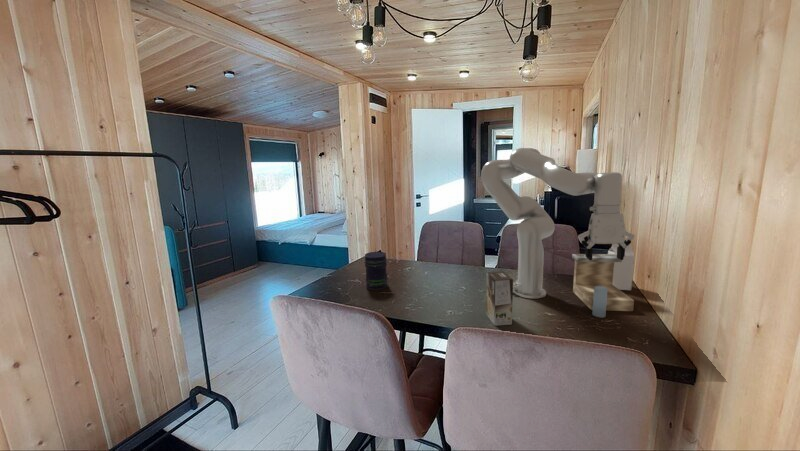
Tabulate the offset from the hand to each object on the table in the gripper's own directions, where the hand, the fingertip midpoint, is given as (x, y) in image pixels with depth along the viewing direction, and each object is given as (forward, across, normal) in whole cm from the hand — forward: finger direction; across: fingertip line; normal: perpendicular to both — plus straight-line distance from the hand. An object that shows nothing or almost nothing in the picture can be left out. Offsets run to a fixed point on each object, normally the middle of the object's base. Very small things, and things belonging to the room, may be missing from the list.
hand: (604, 259), depth 114 cm
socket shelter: (+20, +4, +12) cm, 24 cm away
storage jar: (+18, -87, +22) cm, 91 cm away
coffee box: (+20, -36, -8) cm, 42 cm away
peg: (+20, -1, -1) cm, 20 cm away
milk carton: (+20, +17, +28) cm, 38 cm away
